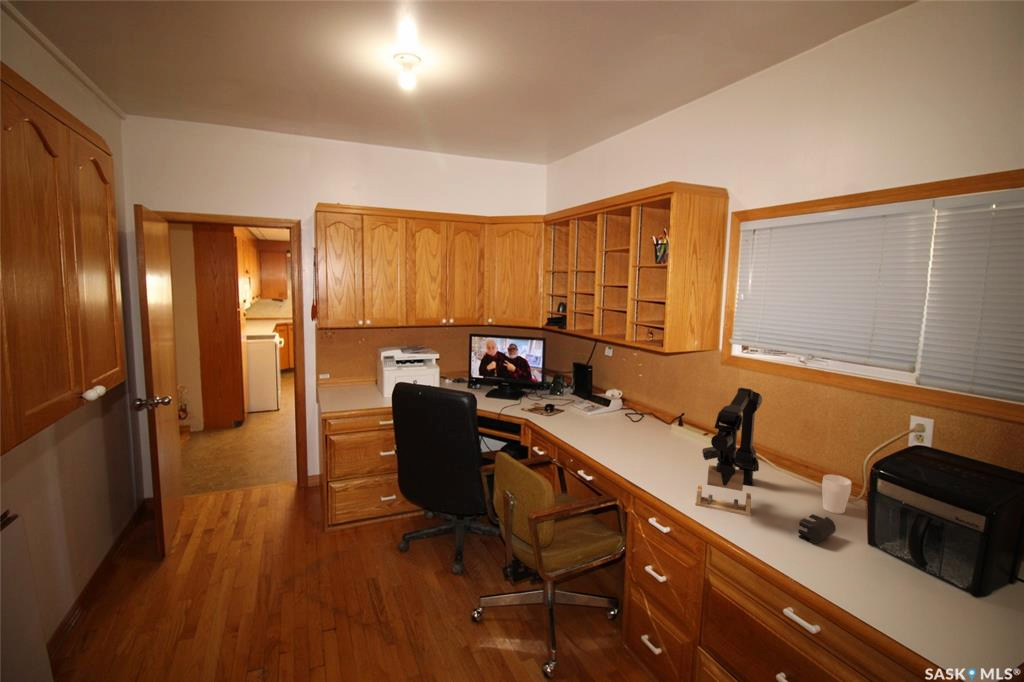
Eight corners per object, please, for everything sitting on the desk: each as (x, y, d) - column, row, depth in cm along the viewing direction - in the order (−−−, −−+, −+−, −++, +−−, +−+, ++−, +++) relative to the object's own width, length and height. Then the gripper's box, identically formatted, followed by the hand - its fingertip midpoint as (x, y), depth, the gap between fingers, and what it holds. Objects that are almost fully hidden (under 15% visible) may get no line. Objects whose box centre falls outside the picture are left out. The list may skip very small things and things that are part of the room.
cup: (816, 509, 182) (819, 479, 180) (822, 501, 188) (826, 472, 186) (844, 518, 176) (848, 487, 174) (850, 509, 182) (854, 479, 180)
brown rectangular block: (707, 479, 187) (708, 464, 186) (742, 485, 182) (743, 470, 181) (707, 484, 182) (708, 469, 182) (742, 491, 178) (743, 475, 177)
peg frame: (696, 497, 191) (697, 483, 190) (750, 507, 183) (751, 493, 182) (695, 504, 184) (696, 490, 183) (750, 516, 176) (752, 501, 176)
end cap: (819, 548, 157) (821, 529, 156) (797, 538, 163) (798, 519, 162) (834, 539, 162) (837, 520, 161) (812, 529, 168) (814, 511, 167)
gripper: (706, 432, 191) (703, 469, 194) (703, 447, 175) (700, 488, 177) (736, 436, 187) (733, 474, 189) (736, 452, 170) (733, 494, 172)
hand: (724, 482), depth 182 cm, fingers closed on brown rectangular block, 5 cm apart
